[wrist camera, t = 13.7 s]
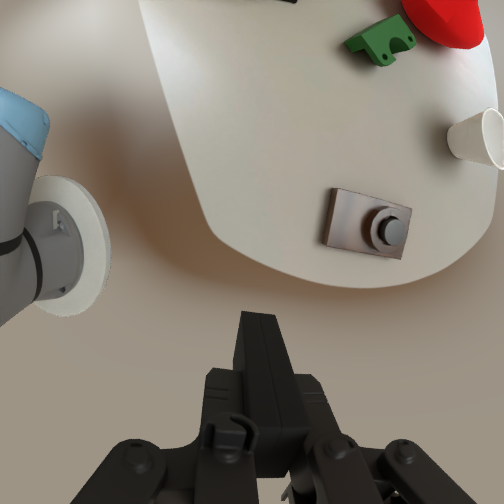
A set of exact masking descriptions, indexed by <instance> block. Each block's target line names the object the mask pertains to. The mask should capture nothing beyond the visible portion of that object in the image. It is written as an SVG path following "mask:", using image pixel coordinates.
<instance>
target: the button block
mask: <svg viewBox="0 0 504 504" xmlns="http://www.w3.org/2000/svg"><path fill="white" fill-rule="evenodd" d="M411 212H412V209H411V208H408V207H405V206H401V205H398V204H395V203H391V202H388V201H385V200H381V199H378V198H374V197H370V196H367V195H363V194H359V193H355V192H351V191H348V190H344V189H340V188H332V193H331V198H330V203H329V209H328V214H327V219H326V224H325V229H324V233H323V238H322V244H324V245H325V246H328V247H334V248H340V249H345V250H351V251H357V252H362V253H368V254H373V255H378V256H384V257H389V258H395V259H400V260H401V257H402V253H403V249H404V245H405V242H406V238H407V234H408V229H409V228H408V227H409V222H410V217H411ZM386 218H394V219H398V220H400V221H401V222H402V223H403V224H404V226H405V237H404V239H403V241H402V242H401V243H400V244H398V245H394V246H393V245H390V244H387V243H385V242H383V241H382V240H381V238H380V236H379V226H380V224H381V222H382V221H383V220H384V219H386Z"/></svg>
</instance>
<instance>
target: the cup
mask: <svg viewBox="0 0 504 504" xmlns="http://www.w3.org/2000/svg"><path fill="white" fill-rule="evenodd" d="M447 143H448V146H449V149H450V150H451V152H452V154H453V155H454V156H455V157H457V158H459V159H464V160H469V161H474V162H478V163H482V164H486V165H490V166H494V167H497V168H498V169H500V170H504V118H503V117H502V116H501V114H500V113H499V112H498V111H497V110H495V109H494V108H487V109H485V110H484V111H483V112H481V113H479V114H477V115H474V116H472V117H470V118H468V119H466V120H464V121H462V122H459V123H457V124H455V125H453V126H451V127H450V128H449V130H448V133H447Z"/></svg>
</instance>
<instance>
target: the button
mask: <svg viewBox="0 0 504 504" xmlns="http://www.w3.org/2000/svg"><path fill="white" fill-rule="evenodd" d="M379 236H380V238H381V240H382V241H383V242H385V243H387V244H390V245H393V246H394V245H398V244H400V243H401V242H402V241H403V239H404V237H405V226H404V224H403V223H402V222H401V221H400V220H398V219H394V218H386V219H384V220H383V221H382V222H381V224H380V226H379Z"/></svg>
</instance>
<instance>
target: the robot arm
mask: <svg viewBox="0 0 504 504" xmlns="http://www.w3.org/2000/svg"><path fill="white" fill-rule="evenodd" d="M49 128H50V120H49V116H48V114H47V113H46V112H45V111H44V110H43V109H42V108H40V107H39V106H37V105H35V104H33V103H32V102H30V101H28V100H26V99H25V98H22V97H21V96H19V95H17V94H15V93H13V92H10V91H8V90H6V89H4V88H2V87H0V327H1V326H2V325H3V324H5V323H6V322H7V321H8V320H10V319H11V318H12V317H13V316H15V315H16V314H18V313H19V312H20V311H21V310H23V309H24V308H25V307H27V306H28V305H29V304H31V303H32V302H34V301H42V300H50V299H57V298H60V297H62V296H64V295H66V294H67V293H68V292H70V291H71V290H72V289H73V288H74V287H75V286H76V285H77V283H78V281H79V279H80V277H81V274H82V271H83V266H84V248H83V242H82V238H81V235H80V232H79V229H78V227H77V225H76V223H75V221H74V219H73V218H72V216H71V215H70V214H69V213H68V211H67V210H66V209H64V208H63V207H62V206H60V205H59V204H57V203H55V202H52V201H40V202H34V203H31V204H29V205H28V203H29V199H30V194H31V190H32V186H33V182H34V179H35V175H36V172H37V168H38V165H39V162H40V161H41V160H42V152H43V148H44V145H45V141H46V138H47V135H48V132H49ZM288 470H289V472H290V477H291V482H290V484H289V485H288V487H287V488H286V490H285V491H284V493H283V494H282V496H281V501H285V499H286V498H287V497H288V498H289V504H477V503H476V502H475V501H474V500H473V499H472V498H470V496H469V495H468V494H467V493H465V492H464V491H463V490H462V489H461V488H460V487H459V486H458V485H457V484H456V483H455V482H454V481H453V480H452V479H451V478H450V477H449V476H448V475H447V474H446V473H445V472H444V471H443V470H442V469H441V468H440V467H439V466H438V465H437V464H436V463H435V462H434V461H433V460H432V459H431V458H430V457H429V456H428V455H427V454H426V453H425V452H424V451H423V450H422V449H421V448H420V447H419V446H418V445H417V444H415V443H414V442H412V441H409V440H406V439H398V440H394V441H392V442H391V443H389V444H388V445H387V446H386V448H385V449H373V448H364V447H360V446H358V445H357V443H356V442H355V440H354V439H352V438H351V437H349V436H348V435H345V434H342V433H341V431H340V429H339V427H338V424H337V422H336V419H335V417H334V415H333V412H332V410H331V408H330V405H329V403H327V398H326V396H325V395H324V391H323V389H322V386H321V384H320V382H318V381H317V380H316V379H315V378H314V377H313V376H312V375H311V374H294V372H293V369H292V366H291V363H290V359H289V356H288V353H287V350H286V347H285V344H284V341H283V338H282V335H281V332H280V328H279V325H278V322H277V319H276V316H275V315H272V314H263V313H255V312H247V311H241V317H240V323H239V329H238V334H237V340H236V346H235V351H234V357H233V370H228V369H220V368H212V369H211V371H210V372H209V373H208V374H207V375H206V381H205V389H204V398H203V407H202V417H201V425H200V432H199V435H198V437H197V438H196V439H195V440H194V441H193V442H192V443H191V444H189V445H186V446H184V447H180V448H173V449H160V448H159V447H157V446H156V445H154V444H153V443H151V442H149V441H145V440H141V439H128V440H125V441H122V442H120V443H118V444H117V445H116V446H115V447H113V449H112V450H111V451H110V453H109V454H108V455H107V457H106V458H105V459H104V461H103V462H102V463H101V464H100V466H99V467H98V468H97V470H96V471H95V472H94V474H93V475H92V476H91V477H90V479H89V480H88V481H87V482H86V484H85V485H84V486H83V488H82V489H81V490H80V491H79V493H78V494H77V495H76V497H75V498H74V499H73V500H72V502H71V503H70V504H259V499H258V490H257V481H256V478H284V477H285V475H286V474H287V472H288ZM395 491H397V492H398V493H399V494H397V493H395Z"/></svg>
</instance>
